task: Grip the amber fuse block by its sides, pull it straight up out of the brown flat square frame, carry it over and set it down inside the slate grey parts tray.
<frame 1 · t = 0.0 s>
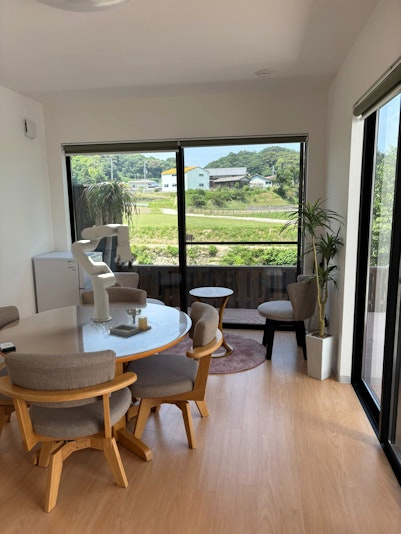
hand: (125, 270, 263), 37 cm above the table, tool pointing down, fingers open, 9 cm apart
mechanical component: (134, 323, 270), on the table
brown flat square frame: (143, 329, 257), on the table
parts tray: (125, 332, 251), on the table
amber fuse: (142, 323, 256), in the brown flat square frame
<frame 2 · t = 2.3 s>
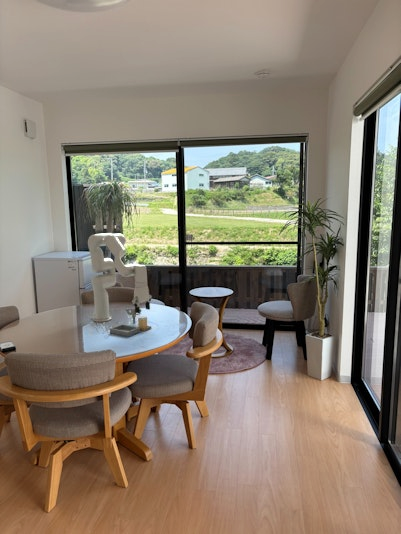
hand: (142, 311, 255), 12 cm above the table, tool pointing down, fingers open, 9 cm apart
nothing on the table moved.
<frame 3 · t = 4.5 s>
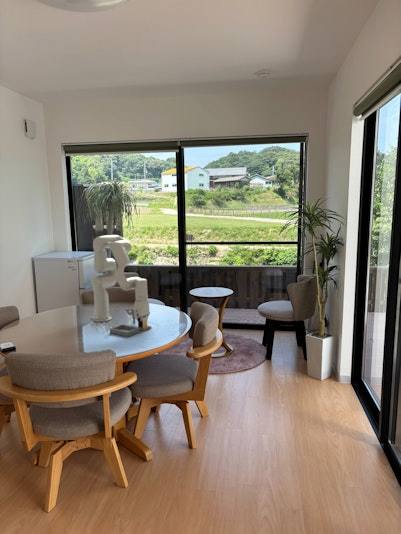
hand: (142, 325, 257), 2 cm above the table, tool pointing down, fingers closed on amber fuse, 3 cm apart
amber fuse: (142, 323, 256), in the brown flat square frame, touching gripper
everything else where it was.
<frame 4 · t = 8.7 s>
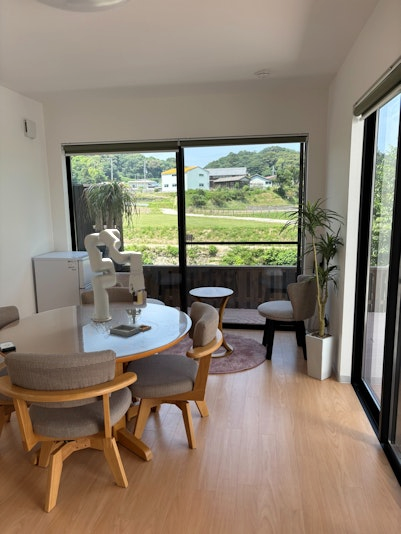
hand: (137, 300, 253), 19 cm above the table, tool pointing down, fingers closed on amber fuse, 4 cm apart
amber fuse: (137, 297, 252), point 21 cm above the table, touching gripper
everything else where it was.
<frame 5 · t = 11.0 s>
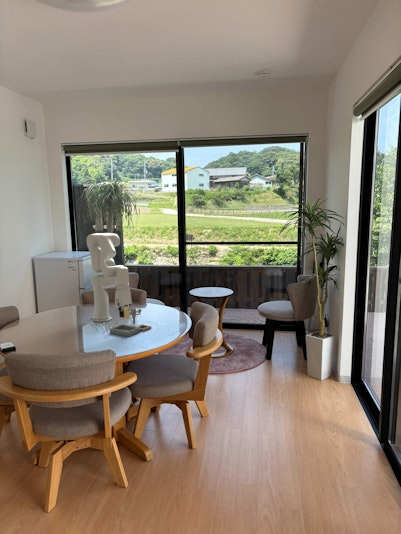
hand: (124, 315, 249), 11 cm above the table, tool pointing down, fingers closed on amber fuse, 4 cm apart
amber fuse: (124, 313, 248), point 13 cm above the table, touching gripper
everything else where it was.
when the fingers open (5 cm above the table, at t = 12.8 s): amber fuse drops 2 cm, resting on parts tray.
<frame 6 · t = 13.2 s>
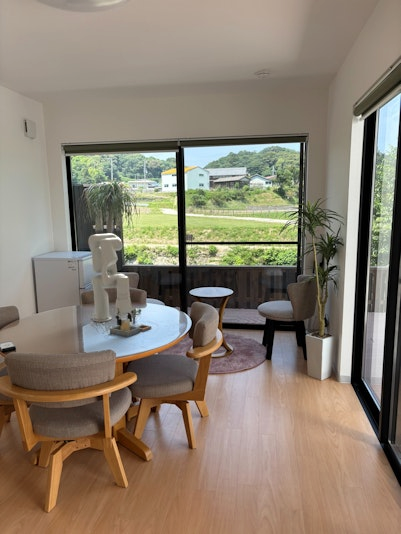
hand: (124, 323, 250), 6 cm above the table, tool pointing down, fingers open, 8 cm apart
amber fuse: (125, 325, 250), in the parts tray, point 5 cm above the table
everything else where it was.
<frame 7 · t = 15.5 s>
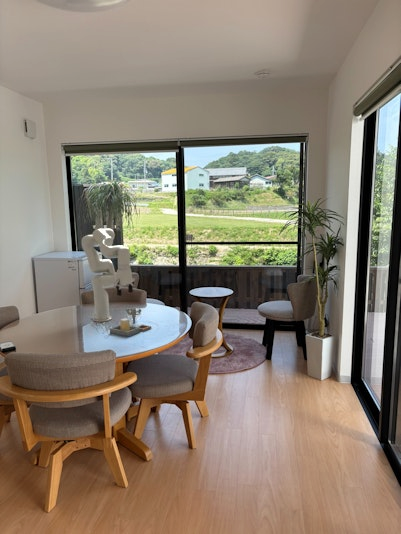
hand: (125, 293, 252), 24 cm above the table, tool pointing down, fingers open, 9 cm apart
nothing on the table moved.
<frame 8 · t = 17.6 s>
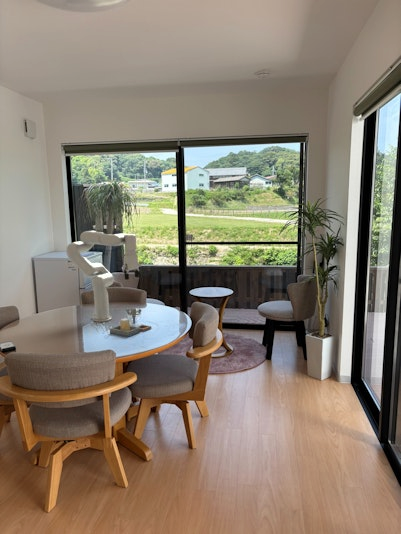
hand: (131, 278, 269), 30 cm above the table, tool pointing down, fingers open, 9 cm apart
nothing on the table moved.
at the end: amber fuse inside the target area on the parts tray (0.2 cm from its centre), point 4.6 cm above the parts tray's base; amber fuse touching parts tray; the gripper is holding nothing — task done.
